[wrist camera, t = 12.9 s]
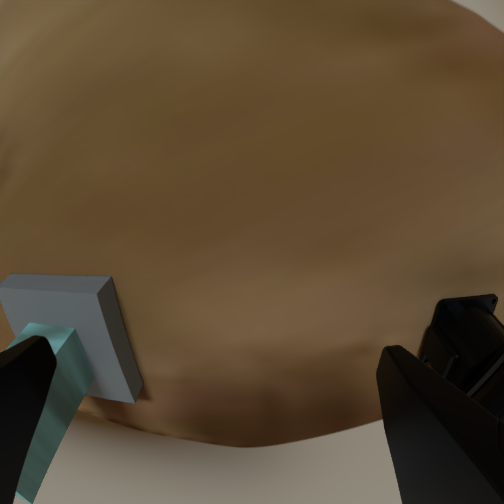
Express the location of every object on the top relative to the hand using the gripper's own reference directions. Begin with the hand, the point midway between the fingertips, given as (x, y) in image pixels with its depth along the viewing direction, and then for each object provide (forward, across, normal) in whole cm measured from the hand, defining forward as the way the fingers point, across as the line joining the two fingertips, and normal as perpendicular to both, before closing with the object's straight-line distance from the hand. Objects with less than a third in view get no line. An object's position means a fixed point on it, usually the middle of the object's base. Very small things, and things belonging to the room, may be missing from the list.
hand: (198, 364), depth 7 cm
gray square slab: (+13, +15, +10) cm, 22 cm away
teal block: (+10, +15, +10) cm, 21 cm away
